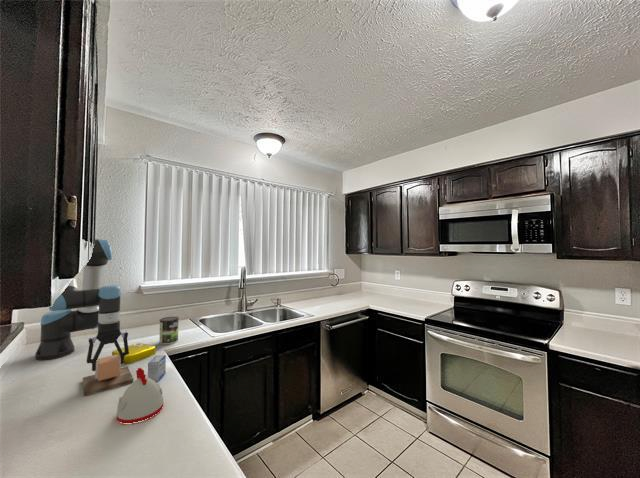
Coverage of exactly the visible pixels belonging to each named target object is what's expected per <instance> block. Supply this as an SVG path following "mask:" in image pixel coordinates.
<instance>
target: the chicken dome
mask: <svg viewBox="0 0 640 478" xmlns="http://www.w3.org/2000/svg"><path fill="white" fill-rule="evenodd" d="M135 372H136V379H135V380H133V383H130V385H128V387H127V388H126V389H125V391H124V392H123V394H122V396H119V397H118V403H117V410H116V421H119V422H122V423H133V422H138V421H142V420H145V419H147V418H150V417H152V416H153V415H155V414H157V413H158V412H159V411H160V410H161V409H162V407H163V408H164V396H163V388H162V387H161V386H160V384H159V383H157V382H155V381H153V380H152V379H150V378H148V376H146V375H147V374H146V373H145V370H144V369H143V368H141V367H138V368H137V370H136V371H135ZM162 410H163V409H162ZM162 410H161V411H162ZM159 413H160V412H159ZM159 413H158V414H159ZM158 414H157V415H158ZM152 418H153V417H152ZM119 422H118V423H119Z"/></svg>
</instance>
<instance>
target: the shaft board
mask: <svg viewBox="0 0 640 478" xmlns="http://www.w3.org/2000/svg"><path fill="white" fill-rule="evenodd" d="M133 382H134V378H133V375H132V373H131V371H130V368H129V366H125V367H124V366H123V367H121V373H119V376H115V377H111V378H108V379H104V380H100V381H98V379H96V378H95V374H92V375H88V376H84V377H82V387H83V388H82V389H83V397H87V396H90V395H93V394H97V393H101V392H104V391H107V390H111V389H115V388H118V387H121V386H125V385H129V384H132V383H133Z"/></svg>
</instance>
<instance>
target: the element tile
mask: <svg viewBox="0 0 640 478" xmlns="http://www.w3.org/2000/svg"><path fill="white" fill-rule="evenodd" d="M120 348H121V350H122V352H125V349H124V347H120ZM128 349H129V354H128V355H125V356H124V363H123V364H124V365H128V364H133V363H136V362H138V361H140V360H143V359H146V358H148V357H152V356H154V355H156V346H155V345H151V344H147V343H142V342H136V343H133V344H131V345H128ZM117 354H118V356H120V354H119V352H118V350H117V349H115V350H113V351H112V352H111V356H112V355H117Z"/></svg>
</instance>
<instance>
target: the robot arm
mask: <svg viewBox="0 0 640 478" xmlns="http://www.w3.org/2000/svg"><path fill="white" fill-rule="evenodd" d="M94 239H95V238H94ZM109 241H110V240H107V239H99V238H97V239H95V245H94V248H93V253H92V257H91V259H90V260H89V262H88V263H87V265H86V266H85V267H84V266H83V272H82V283H81V290H79V286H78V280H77V279H78V278H77V277H76V278H75V279H73V280H72V281H71V283H70V284H69V286H68V287H67V288H66V289H65V291H64V292H63V293H62V294H61V295H60V296H59V297H58V298H57V299H56V300H55V302H54V304H53V306H52V307H49V306H48V309H49V312H46V313H45V314H43V315H42V316H41V319H40V321H41V322H40V341H39V342H40V343H39V345H38V348H37V349H36V352H35V354H34V355H35V356H34V358H35V360H37V361H46V360H54V359H58V358H62V357H66V356H68V355H70V354H73V353H74V352H75V345H74V342H73V340H72V337H71V334H72V333H75V332H81V331H87V330H94V329H97V334H96V336H94V337H89V338H88V340H87V341H88V352H87V357H86V363H87V364H91V371H92V372H94V373H95V374H94V375H95V378H96V379H98V361H97V359H99V358H100V357H99V356H100V354H101V353H102V350H103V348H104V346H105V345H108V344H114V346H115V347H116V350H118V352H119V354H120V356H118V357H119V373H121V368H122V365H123V364H124V356H125V355H128V354H129V349H128V346H129V343H128V336H129V332H128V331H123V332H122V331H121V329H120V328H121V321H120V320H121V294H122V292H121V286H119V285H105V286H104V285H103V280H104V279H103V277H104V267H105V266H107V265H108V263H109V262H108V261H111V260H112V259H113V258H112V257H113V252H112V247H111V243H110V242H109ZM74 309H76V310H74ZM120 336H121V337H122V340H123V341H122V342H123V346H124V347H123V348H124V349H125V352H122V350H121V348H122V347H121V346H120V344H119V342H118V338H119V337H120ZM96 341H99V345H98V347H97V349H96V351H95V353H94V356H93V358H92V355H93V350H94V344H95V342H96Z"/></svg>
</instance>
